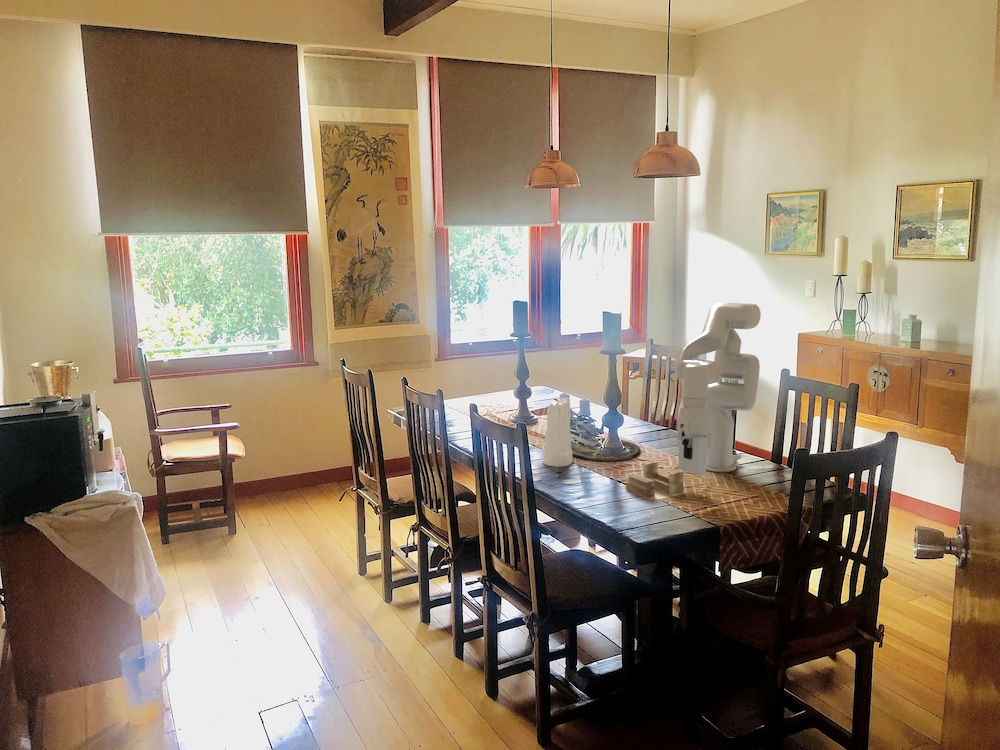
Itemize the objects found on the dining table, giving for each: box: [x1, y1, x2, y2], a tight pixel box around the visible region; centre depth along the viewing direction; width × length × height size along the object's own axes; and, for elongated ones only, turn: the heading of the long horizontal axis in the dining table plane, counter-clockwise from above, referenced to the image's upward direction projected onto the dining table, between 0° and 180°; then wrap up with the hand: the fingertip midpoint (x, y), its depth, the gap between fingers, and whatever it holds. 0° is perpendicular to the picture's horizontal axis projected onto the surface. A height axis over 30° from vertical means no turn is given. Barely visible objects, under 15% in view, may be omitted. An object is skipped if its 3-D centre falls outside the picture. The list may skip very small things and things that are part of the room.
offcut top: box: [628, 474, 654, 490], centre depth 252 cm, size 4×8×2 cm, turn 34°
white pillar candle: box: [542, 396, 573, 468], centre depth 290 cm, size 11×11×25 cm
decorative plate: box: [571, 437, 641, 463], centre depth 307 cm, size 30×2×30 cm
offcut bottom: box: [625, 481, 655, 499], centre depth 253 cm, size 4×10×2 cm, turn 30°
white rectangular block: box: [677, 436, 707, 476], centre depth 253 cm, size 4×9×12 cm, turn 30°
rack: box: [620, 460, 688, 502], centre depth 255 cm, size 15×16×8 cm
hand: (692, 457), depth 254 cm, fingers closed on white rectangular block, 3 cm apart
